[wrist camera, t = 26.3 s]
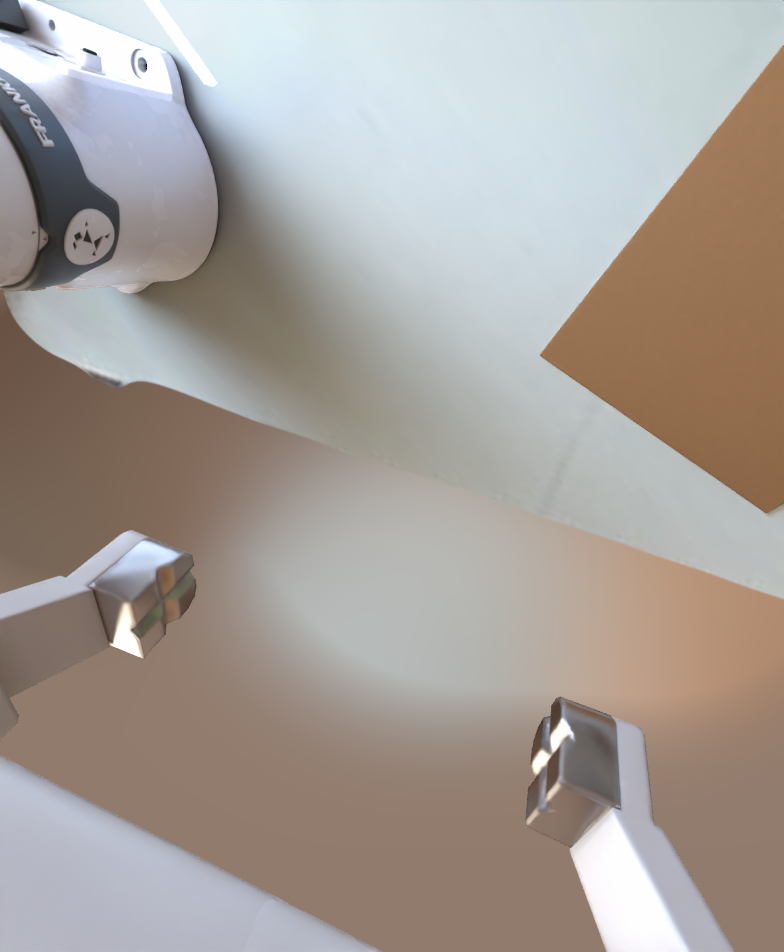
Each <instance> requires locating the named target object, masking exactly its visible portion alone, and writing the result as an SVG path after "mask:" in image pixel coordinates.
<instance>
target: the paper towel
mask: <svg viewBox="0 0 784 952" xmlns="http://www.w3.org/2000/svg"><path fill="white" fill-rule="evenodd" d="M540 356H541V357H543V358H544V359H545V360H547V361H548V362H550V363H551V364H553V365H554V366H555V367H557V368H558V369H560V370H561V371H563V372H564V373H566V374H567V375H568V376H570V377H571V378H573V379H574V380H576V381H577V382H578V383H580V384H581V385H583V386H584V387H586V388H587V389H589V390H590V391H591V392H593V393H594V394H596V395H597V396H599V397H600V398H601V399H603V400H604V401H606V402H607V403H609V404H610V405H611V406H613V407H614V408H616V409H617V410H619V411H620V412H622V413H623V414H624V415H626V416H627V417H629V418H630V419H632V420H633V421H634V422H636V423H637V424H639V425H640V426H642V427H643V428H644V429H646V430H647V431H649V432H650V433H652V434H653V435H655V436H656V437H657V438H659V439H660V440H662V441H663V442H665V443H666V444H667V445H669V446H670V447H672V448H673V449H675V450H676V451H678V452H679V453H680V454H682V455H683V456H685V457H686V458H688V459H689V460H690V461H692V462H693V463H695V464H696V465H698V466H699V467H700V468H702V469H703V470H705V471H706V472H708V473H709V474H711V475H712V476H713V477H715V478H716V479H718V480H719V481H721V482H722V483H723V484H725V485H726V486H728V487H729V488H731V489H732V490H733V491H735V492H736V493H738V494H739V495H741V496H742V497H744V498H745V499H746V500H748V501H749V502H751V503H752V504H754V505H755V506H756V507H758V508H759V509H761V510H762V511H764V512H765V513H768V512H770V511H771V510H772V509H774V508H775V507H777V506H778V505H780V504H781V503H783V502H784V45H783V46H782V47H781V48H780V50H779V51H778V52H777V54H776V55H775V56H774V57H773V59H772V60H771V61H770V62H769V64H768V65H767V66H766V68H765V69H764V70H763V71H762V73H761V74H760V75H759V76H758V78H757V79H756V80H755V82H754V83H753V84H752V85H751V87H750V88H749V89H748V90H747V92H746V93H745V94H744V96H743V97H742V98H741V99H740V101H739V102H738V103H737V104H736V106H735V107H734V108H733V110H732V111H731V112H730V113H729V115H728V116H727V117H726V118H725V120H724V121H723V122H722V124H721V125H720V126H719V127H718V129H717V130H716V131H715V132H714V134H713V135H712V136H711V138H710V139H709V140H708V141H707V143H706V144H705V145H704V146H703V148H702V149H701V150H700V152H699V153H698V154H697V155H696V157H695V158H694V159H693V160H692V162H691V163H690V164H689V166H688V167H687V168H686V169H685V171H684V172H683V173H682V174H681V176H680V177H679V178H678V180H677V181H676V182H675V183H674V185H673V186H672V187H671V188H670V190H669V191H668V192H667V194H666V195H665V196H664V197H663V199H662V200H661V201H660V202H659V204H658V205H657V206H656V208H655V209H654V210H653V211H652V213H651V214H650V215H649V216H648V218H647V219H646V220H645V222H644V223H643V224H642V225H641V227H640V228H639V229H638V230H637V232H636V233H635V234H634V236H633V237H632V238H631V239H630V241H629V242H628V243H627V244H626V246H625V247H624V248H623V250H622V251H621V252H620V253H619V255H618V256H617V257H616V258H615V260H614V261H613V262H612V264H611V265H610V266H609V267H608V269H607V270H606V271H605V272H604V274H603V275H602V276H601V278H600V279H599V280H598V281H597V283H596V284H595V285H594V286H593V288H592V289H591V290H590V292H589V293H588V294H587V295H586V297H585V298H584V299H583V300H582V302H581V303H580V304H579V306H578V307H577V308H576V309H575V311H574V312H573V313H572V314H571V316H570V317H569V318H568V320H567V321H566V322H565V323H564V325H563V326H562V327H561V328H560V330H559V331H558V332H557V334H556V335H555V336H554V337H553V339H552V340H551V341H550V342H549V344H548V345H547V346H546V348H545V349H544V350H543V351H542V353H541V354H540Z"/></svg>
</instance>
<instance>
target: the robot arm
mask: <svg viewBox="0 0 784 952" xmlns="http://www.w3.org/2000/svg"><path fill="white" fill-rule="evenodd" d="M145 2H146V3H147V5H148V6H149V7H150V9H151V10H152V12H153V13H154V14H155V16H156V17H157V19H158V20H159V21H160V23H161V24H162V26H163V27H164V28H165V30H166V31H167V32H168V34H169V35H170V37H171V38H172V39H173V41H174V42H175V44H176V45H177V46H178V48H179V49H180V51H181V52H182V53H183V55H184V56H185V58H186V59H187V60H188V62H189V63H190V65H191V66H192V67H193V69H194V70H195V72H196V73H197V74H198V76H199V77H200V79H201V80H202V81H203V83H204V84H206V85H209V86H213V87H215V86H216V84H217V82H216V80H215V79H214V77H213V76H212V75H211V73H210V72H209V70H208V69H207V68H206V66H205V65H204V63H203V62H202V60H201V59H200V58H199V56H198V55H197V53H196V52H195V51H194V49H193V48H192V46H191V45H190V44H189V42H188V41H187V39H186V38H185V37H184V35H183V34H182V32H181V31H180V30H179V28H178V27H177V25H176V24H175V22H174V21H173V20H172V18H171V17H170V15H169V14H168V13H167V11H166V10H165V8H164V7H163V6H162V4H161V3H160V1H159V0H145ZM146 62H147V66H148V68H147V70H146V68H145V63H146ZM217 221H218V197H217V188H216V182H215V177H214V173H213V169H212V165H211V162H210V159H209V156H208V153H207V151H206V148H205V146H204V143H203V141H202V139H201V137H200V135H199V133H198V131H197V129H196V127H195V125H194V123H193V121H192V119H191V117H190V115H189V113H188V110H187V107H186V104H185V99H184V94H183V89H182V84H181V80H180V76H179V73H178V69H177V67H176V64H175V62H174V60H173V58H172V57H171V56H170V55H169V54H168V53H167V52H166V51H164V50H162V49H159V48H157V47H154V46H152V45H149V44H147V43H144V42H142V41H139V40H137V39H134V38H131V37H129V36H126V35H124V34H121V33H119V32H116V31H114V30H111V29H109V28H106V27H104V26H101V25H98V24H96V23H93V22H91V21H88V20H86V19H83V18H81V17H78V16H76V15H73V14H70V13H68V12H65V11H63V10H60V9H58V8H55V7H53V6H50V5H48V4H45V3H42V2H40V1H37V0H0V290H2V291H21V290H22V291H23V290H25V291H28V290H31V291H35V290H42V289H46V287H50V286H53V287H55V288H58V289H62V290H70V289H86V288H100V287H113V286H116V287H117V288H118V289H119V290H120V291H122V292H124V293H137V292H140V291H141V290H143V289H145V288H146V287H147V286H149V285H150V284H151V283H153V282H158V281H175V280H179V279H182V278H185V277H187V276H189V275H190V274H192V273H193V272H195V271H196V270H197V269H198V268H199V267H200V266H201V265H202V263H203V262H204V261H205V259H206V257H207V256H208V254H209V252H210V250H211V247H212V244H213V241H214V238H215V234H216V228H217ZM193 566H194V562H193V557H192V555H191V554H188V553H186V552H183V551H181V550H179V549H176V548H174V547H171V546H169V545H166V544H164V543H162V542H159V541H156V540H154V539H152V538H150V537H147V536H145V535H142V534H139V533H137V532H134V531H132V530H131V531H128V532H125V533H122V534H121V535H120V536H118V537H117V538H116V539H114V540H113V541H112V542H111V543H110V544H108V545H107V546H106V547H104V548H103V549H102V550H101V551H99V552H98V553H97V554H96V555H94V556H93V557H92V558H90V559H89V560H88V561H87V562H85V563H84V564H83V565H82V566H80V567H79V568H78V569H77V570H75V571H74V572H73V573H72V574H70V575H69V576H68V577H67V578H65V577H62V576H58V577H55V578H51V579H48V580H45V581H42V582H38V583H35V584H32V585H29V586H26V587H22V588H19V589H16V590H13V591H9V592H6V593H3V594H0V740H1V739H2V738H3V737H4V736H5V735H6V734H7V733H8V732H9V731H10V730H11V729H12V728H13V727H14V726H15V725H16V724H17V723H18V718H19V714H18V713H17V711H16V709H15V707H14V706H13V704H12V702H11V700H10V697H12V696H14V695H16V694H18V693H20V692H22V691H24V690H26V689H28V688H30V687H32V686H34V685H36V684H38V683H39V682H42V681H44V680H46V679H47V678H49V677H52V676H54V675H55V674H58V673H60V672H62V671H64V670H66V669H68V668H70V667H71V666H73V665H75V664H77V663H79V662H81V661H83V660H85V659H87V658H89V657H91V656H93V655H95V654H97V653H99V652H101V651H103V650H105V649H107V648H109V647H110V645H112V646H114V647H117V648H120V649H122V650H124V651H127V652H129V653H132V654H134V655H137V656H139V657H142V658H145V657H146V656H147V655H148V653H149V652H150V651H151V650H152V649H153V648H154V647H155V645H156V644H157V643H158V642H159V641H160V640H161V639H162V638H163V637H164V636H165V635H166V625H167V624H168V623H170V622H173V621H175V620H178V619H180V618H181V616H182V615H183V614H184V613H185V612H186V611H187V609H188V608H189V606H190V604H191V602H192V600H193V598H194V597H195V592H196V579H195V578H194V576H193V575H192V574H191V572H190V571H189V570H190V569H191V568H192V567H193ZM530 765H531V767H532V769H533V772H534V774H535V776H536V778H535V780H534V781H533V782H532V784H531V785H530V787H529V788H528V795H527V808H526V819H525V826H526V827H528V828H530V829H532V830H534V831H536V832H539V833H541V834H543V835H545V836H547V837H549V838H552V839H553V840H556V841H558V842H560V843H562V844H564V845H566V846H568V847H570V848H571V849H570V853H571V856H572V858H573V861H574V864H575V866H576V869H577V872H578V875H579V877H580V880H581V883H582V886H583V888H584V891H585V894H586V897H587V899H588V902H589V905H590V907H591V910H592V913H593V916H594V918H595V921H596V924H597V927H598V929H599V932H600V935H601V938H602V940H603V943H604V946H605V948H606V951H607V952H735V951H734V950H733V948H732V946H731V944H730V943H729V941H728V940H727V938H726V936H725V934H724V933H723V931H722V929H721V927H720V926H719V924H718V922H717V920H716V919H715V917H714V915H713V914H712V912H711V910H710V908H709V907H708V905H707V903H706V902H705V900H704V898H703V896H702V895H701V893H700V891H699V890H698V888H697V886H696V884H695V883H694V881H693V879H692V878H691V876H690V874H689V872H688V871H687V869H686V867H685V865H684V864H683V862H682V860H681V859H680V857H679V855H678V853H677V852H676V850H675V848H674V847H673V845H672V843H671V841H670V840H669V838H668V836H667V835H666V833H665V831H664V829H662V828H661V827H658V826H656V825H654V818H653V809H652V799H651V790H650V781H649V772H648V763H647V754H646V745H645V735H644V733H643V731H642V729H641V728H640V727H638V726H635V725H633V724H630V723H627V722H625V721H622V720H619V719H616V718H613V717H611V715H608V714H606V713H603V712H600V711H597V710H595V709H592V708H589V707H587V706H584V705H581V704H579V703H576V702H573V701H571V700H567V699H565V698H562V697H559V698H556V700H555V701H554V703H553V704H552V706H551V716H548V717H544V718H543V720H542V721H541V723H540V725H539V727H538V729H537V732H536V735H535V738H534V741H533V747H532V753H531V763H530ZM0 952H382V951H380V950H378V949H376V948H374V947H372V946H370V945H368V944H367V943H364V942H363V941H360V940H359V939H357V938H355V937H353V936H351V935H349V934H347V933H345V932H343V931H341V930H339V929H337V928H335V927H333V926H331V925H329V924H328V923H326V922H324V921H321V920H320V919H318V918H315V917H314V916H312V915H310V914H308V913H306V912H304V911H302V910H300V909H298V908H296V907H294V906H292V905H291V904H288V903H287V902H285V901H283V900H281V899H279V898H277V897H275V896H273V895H270V894H269V893H267V892H265V891H263V890H261V889H259V888H257V887H255V886H253V885H252V884H250V883H247V882H246V881H244V880H242V879H240V878H238V877H236V876H234V875H232V874H230V873H228V872H226V871H224V870H222V869H220V868H218V867H216V866H214V865H212V864H211V863H208V862H206V861H205V860H203V859H201V858H199V857H197V856H195V855H193V854H191V853H189V852H187V851H185V850H183V849H181V848H179V847H177V846H175V845H173V844H172V843H170V842H167V841H166V840H163V839H162V838H160V837H158V836H156V835H154V834H152V833H150V832H148V831H146V830H144V829H142V828H140V827H138V826H136V825H135V824H132V823H131V822H129V821H127V820H125V819H123V818H121V817H119V816H117V815H115V814H113V813H111V812H109V811H107V810H105V809H103V808H101V807H99V806H97V805H95V804H94V803H92V802H90V801H88V800H86V799H84V798H82V797H80V796H78V795H76V794H74V793H72V792H70V791H68V790H66V789H64V788H62V787H60V786H58V785H56V784H54V783H52V782H51V781H48V780H47V779H45V778H43V777H41V776H39V775H37V774H35V773H33V772H31V771H29V770H27V769H25V768H23V767H21V766H19V765H17V764H16V763H14V762H11V761H10V760H8V759H6V758H4V757H2V756H0Z"/></svg>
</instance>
